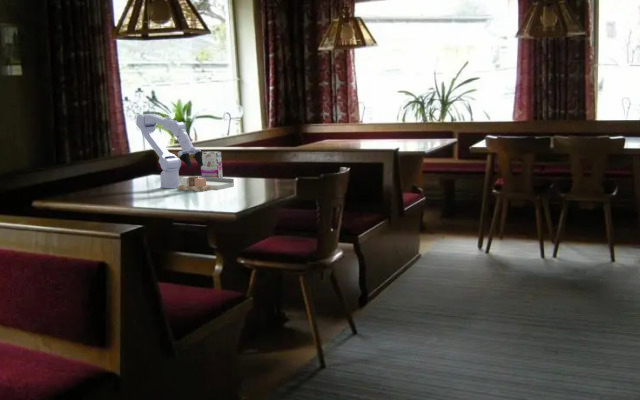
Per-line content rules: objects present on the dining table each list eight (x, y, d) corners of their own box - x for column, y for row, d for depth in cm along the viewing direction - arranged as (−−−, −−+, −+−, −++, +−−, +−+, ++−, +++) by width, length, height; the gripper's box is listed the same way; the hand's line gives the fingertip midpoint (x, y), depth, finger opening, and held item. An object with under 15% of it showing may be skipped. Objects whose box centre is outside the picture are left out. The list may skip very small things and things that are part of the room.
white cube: (181, 185, 355) (181, 177, 354) (187, 184, 358) (186, 176, 357) (187, 185, 353) (186, 178, 352) (192, 184, 356) (192, 177, 355)
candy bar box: (223, 180, 382) (221, 151, 380) (218, 182, 378) (217, 152, 375) (205, 180, 387) (204, 151, 384) (201, 181, 382) (199, 152, 379)
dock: (184, 186, 364) (184, 179, 363) (200, 183, 374) (200, 176, 373) (218, 189, 350) (217, 181, 350) (233, 186, 360) (233, 178, 359)
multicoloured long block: (178, 190, 356) (177, 176, 355) (185, 188, 360) (184, 175, 359) (203, 192, 346) (202, 178, 345) (210, 190, 350) (209, 177, 349)
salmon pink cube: (194, 186, 350) (194, 178, 349) (200, 185, 353) (200, 177, 352) (200, 186, 347) (200, 179, 347) (206, 185, 350) (205, 178, 350)
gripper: (179, 140, 344) (190, 164, 342) (200, 138, 356) (211, 161, 353) (171, 147, 348) (182, 170, 346) (192, 145, 360) (202, 168, 358)
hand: (196, 166), depth 350 cm, fingers open, 7 cm apart
